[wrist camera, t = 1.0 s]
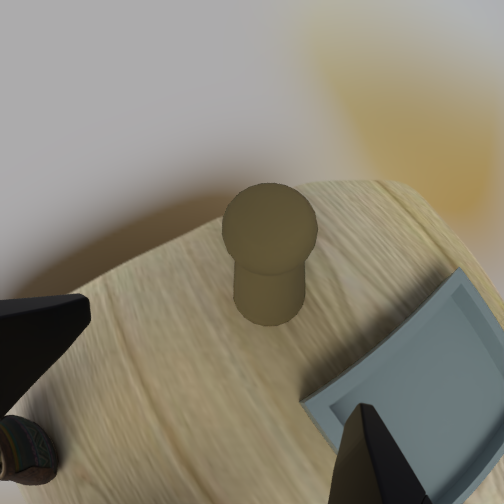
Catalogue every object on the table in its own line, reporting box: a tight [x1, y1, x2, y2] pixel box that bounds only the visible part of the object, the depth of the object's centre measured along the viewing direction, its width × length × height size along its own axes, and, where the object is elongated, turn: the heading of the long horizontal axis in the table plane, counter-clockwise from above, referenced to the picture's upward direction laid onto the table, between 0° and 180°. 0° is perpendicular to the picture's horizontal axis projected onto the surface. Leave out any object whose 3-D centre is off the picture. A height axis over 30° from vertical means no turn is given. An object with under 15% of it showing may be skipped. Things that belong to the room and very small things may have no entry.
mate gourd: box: [0, 415, 58, 485], centre depth 11 cm, size 7×8×10 cm
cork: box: [222, 183, 318, 326], centre depth 18 cm, size 6×6×11 cm
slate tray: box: [299, 267, 504, 504], centre depth 15 cm, size 18×18×3 cm
